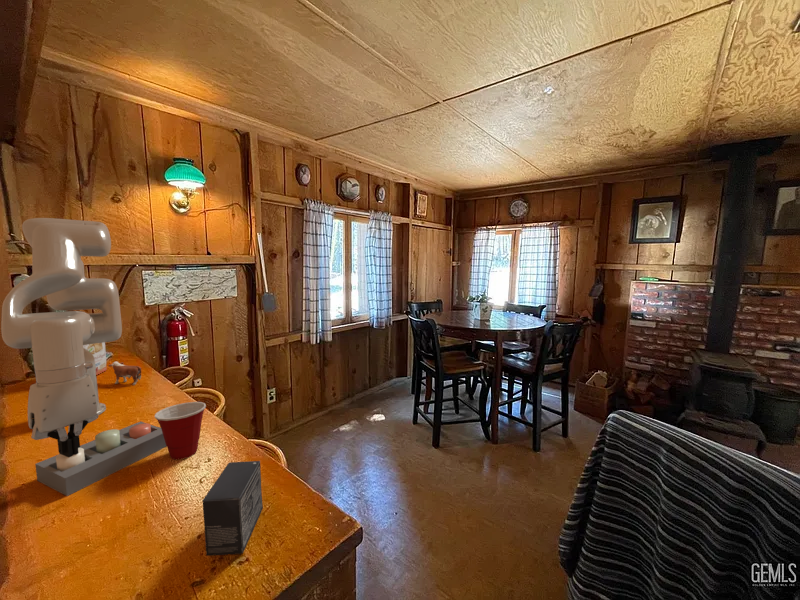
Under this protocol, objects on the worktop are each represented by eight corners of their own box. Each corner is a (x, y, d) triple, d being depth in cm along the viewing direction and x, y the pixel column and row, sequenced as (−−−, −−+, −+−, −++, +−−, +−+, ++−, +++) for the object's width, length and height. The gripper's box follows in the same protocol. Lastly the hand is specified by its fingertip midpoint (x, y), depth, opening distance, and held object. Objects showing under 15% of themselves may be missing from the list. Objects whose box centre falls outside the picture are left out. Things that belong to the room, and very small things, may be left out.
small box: (230, 509, 66) (227, 460, 64) (263, 508, 66) (262, 459, 65) (203, 557, 55) (199, 499, 54) (243, 554, 56) (241, 497, 55)
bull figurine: (117, 379, 133) (116, 359, 132) (145, 382, 130) (144, 362, 129) (106, 383, 129) (104, 363, 128) (134, 386, 126) (132, 366, 125)
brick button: (126, 447, 85) (125, 429, 85) (145, 438, 89) (143, 422, 89) (137, 451, 84) (135, 433, 83) (155, 442, 88) (154, 425, 87)
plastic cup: (202, 436, 92) (199, 395, 90) (213, 453, 84) (211, 408, 83) (154, 452, 84) (150, 407, 83) (162, 472, 77) (158, 423, 75)
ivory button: (53, 476, 72) (51, 456, 72) (79, 465, 76) (77, 446, 76) (64, 482, 71) (62, 461, 70) (90, 470, 75) (88, 450, 74)
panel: (37, 480, 73) (35, 463, 72) (141, 434, 92) (140, 421, 92) (67, 496, 68) (65, 478, 68) (170, 444, 88) (169, 430, 87)
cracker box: (85, 382, 129) (80, 329, 127) (67, 383, 128) (61, 330, 125) (108, 370, 143) (104, 323, 140) (92, 371, 141) (87, 323, 139)
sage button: (92, 455, 79) (90, 436, 78) (114, 445, 83) (112, 427, 82) (103, 459, 77) (101, 440, 77) (125, 449, 81) (123, 431, 81)
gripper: (94, 362, 79) (101, 434, 81) (1, 382, 65) (12, 469, 67) (113, 366, 76) (119, 441, 78) (20, 388, 62) (31, 478, 64)
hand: (70, 453), depth 73 cm, fingers closed
